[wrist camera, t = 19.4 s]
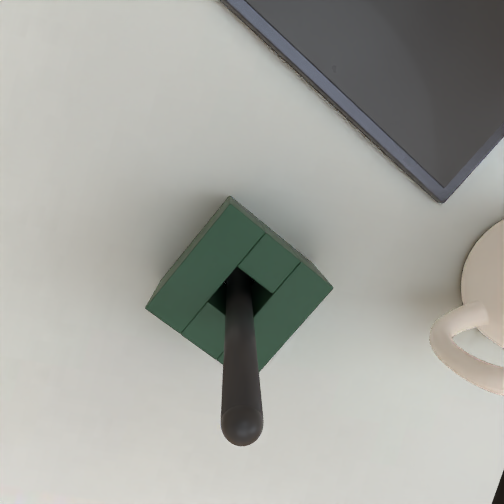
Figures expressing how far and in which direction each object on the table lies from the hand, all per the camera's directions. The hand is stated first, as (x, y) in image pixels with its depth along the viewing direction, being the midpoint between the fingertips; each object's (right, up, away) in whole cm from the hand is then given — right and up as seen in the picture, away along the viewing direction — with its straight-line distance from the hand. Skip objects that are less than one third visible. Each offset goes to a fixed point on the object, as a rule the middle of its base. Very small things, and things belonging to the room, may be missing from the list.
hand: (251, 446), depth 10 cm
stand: (-1, +3, +16) cm, 17 cm away
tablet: (+9, +18, +14) cm, 24 cm away
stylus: (-1, +3, +16) cm, 17 cm away
